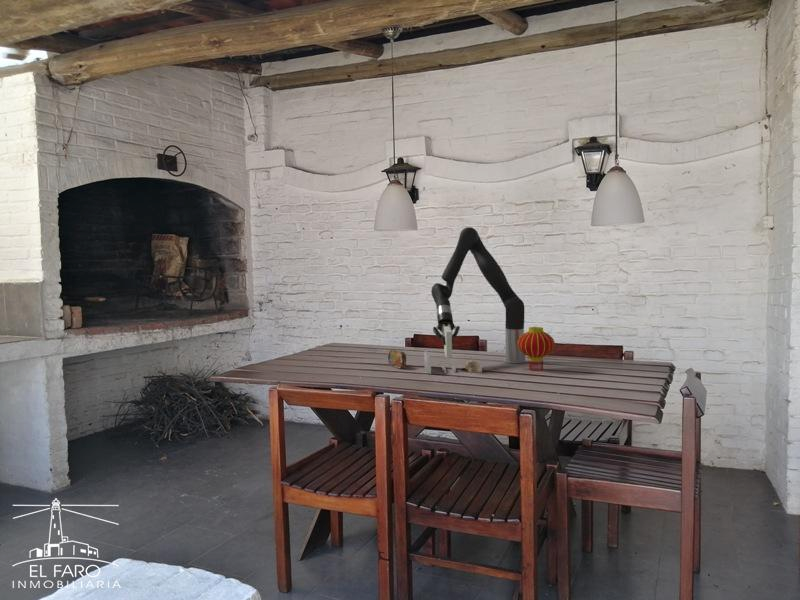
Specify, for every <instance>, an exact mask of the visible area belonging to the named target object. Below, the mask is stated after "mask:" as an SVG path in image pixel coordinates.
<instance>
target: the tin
mask: <svg viewBox="0 0 800 600" xmlns="http://www.w3.org/2000/svg"><path fill="white" fill-rule="evenodd" d="M387 357H388V363H389V366H390V365H394V366H397V367H400V368H399V369H404V368H406V365H407V355H406V353H405V352H404V351H401V350H397V349H390V350H389V353H388V356H387Z"/></svg>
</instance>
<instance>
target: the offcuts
mask: <svg viewBox="0 0 800 600" xmlns="http://www.w3.org/2000/svg"><path fill="white" fill-rule="evenodd" d="M465 367H466V368H465ZM464 368H465V369H466V371H467V372H468V371H469V372H475V373H483V367H481V366H480V362H479V361H478V360H469V361H468V360H467V363H464ZM469 372H468V373H469Z"/></svg>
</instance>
